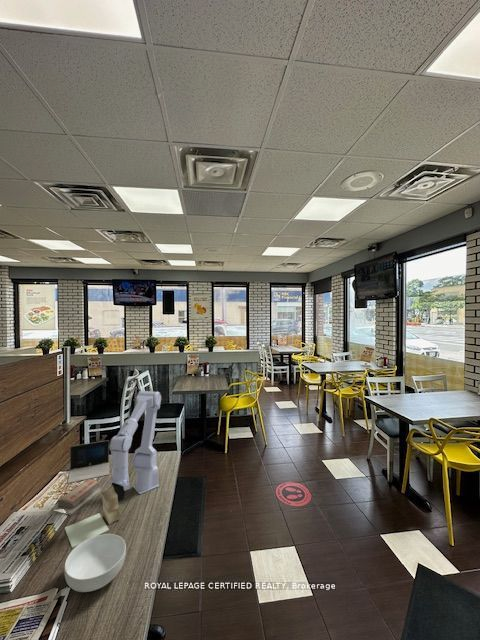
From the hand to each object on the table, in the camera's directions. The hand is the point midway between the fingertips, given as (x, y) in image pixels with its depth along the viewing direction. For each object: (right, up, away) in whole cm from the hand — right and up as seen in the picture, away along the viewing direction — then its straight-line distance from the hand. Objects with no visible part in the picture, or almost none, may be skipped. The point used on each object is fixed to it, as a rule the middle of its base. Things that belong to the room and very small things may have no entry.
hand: (120, 499), depth 113 cm
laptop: (-28, -6, +30) cm, 42 cm away
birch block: (-2, -6, -2) cm, 6 cm away
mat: (-9, -6, -8) cm, 14 cm away
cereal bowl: (+4, -6, -27) cm, 28 cm away
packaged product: (-22, -6, +9) cm, 25 cm away
